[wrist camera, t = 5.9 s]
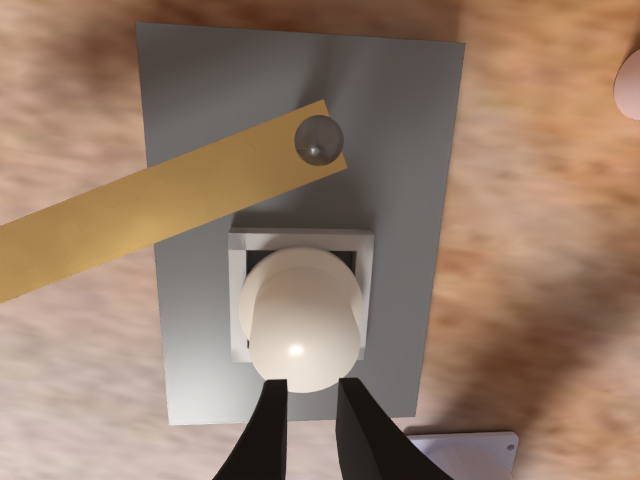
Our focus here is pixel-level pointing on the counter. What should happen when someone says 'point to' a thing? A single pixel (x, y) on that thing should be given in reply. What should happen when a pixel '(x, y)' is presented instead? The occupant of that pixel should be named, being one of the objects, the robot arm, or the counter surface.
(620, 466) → the counter surface
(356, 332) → the plug
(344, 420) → the robot arm
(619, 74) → the smoothie
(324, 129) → the tan l-shaped bar
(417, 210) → the socket block
